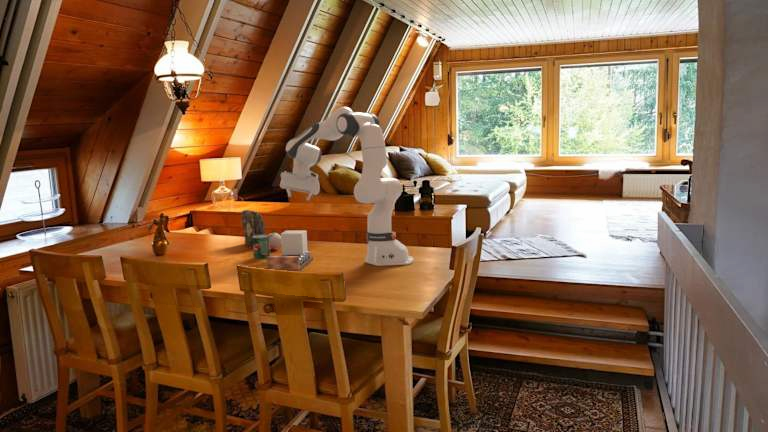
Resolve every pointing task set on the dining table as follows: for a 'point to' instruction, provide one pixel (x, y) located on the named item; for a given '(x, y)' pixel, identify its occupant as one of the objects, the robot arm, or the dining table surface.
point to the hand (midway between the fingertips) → (299, 197)
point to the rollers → (302, 257)
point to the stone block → (252, 225)
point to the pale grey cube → (294, 242)
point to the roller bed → (287, 263)
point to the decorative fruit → (274, 240)
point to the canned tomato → (261, 247)
